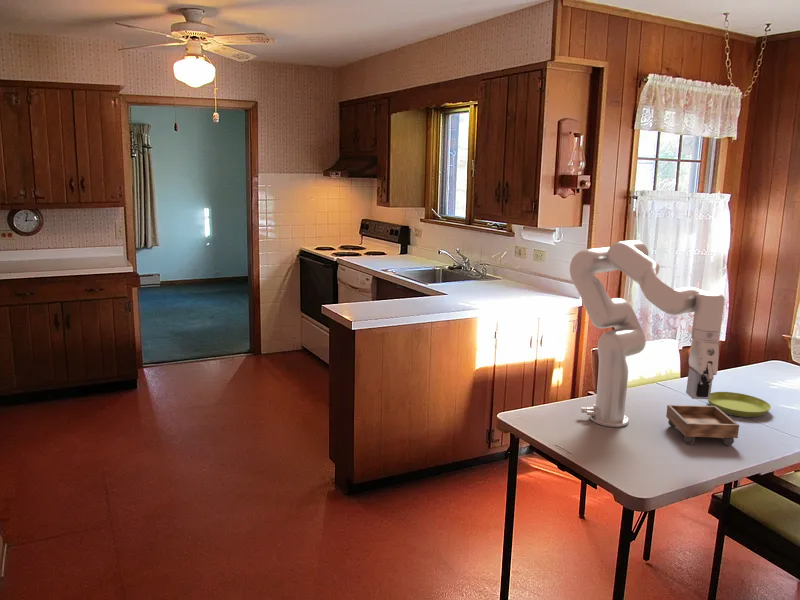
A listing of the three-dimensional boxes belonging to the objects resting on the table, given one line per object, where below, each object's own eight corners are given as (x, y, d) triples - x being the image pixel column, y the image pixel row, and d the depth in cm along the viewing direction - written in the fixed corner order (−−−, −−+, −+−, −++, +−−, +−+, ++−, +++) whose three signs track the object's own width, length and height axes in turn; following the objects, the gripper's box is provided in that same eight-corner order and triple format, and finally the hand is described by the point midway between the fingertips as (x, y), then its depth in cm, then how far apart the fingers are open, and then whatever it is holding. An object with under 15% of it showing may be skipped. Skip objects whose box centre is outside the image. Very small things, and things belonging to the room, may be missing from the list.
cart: (684, 445, 201) (687, 423, 200) (665, 424, 217) (667, 404, 215) (736, 446, 201) (739, 425, 199) (713, 426, 217) (715, 406, 215)
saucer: (778, 423, 221) (779, 414, 220) (713, 417, 225) (714, 408, 224) (758, 401, 241) (759, 393, 240) (699, 397, 245) (700, 389, 244)
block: (692, 398, 191) (695, 373, 189) (686, 392, 195) (689, 367, 194) (709, 399, 190) (713, 373, 189) (702, 393, 195) (706, 368, 193)
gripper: (731, 343, 180) (723, 404, 184) (706, 327, 197) (699, 383, 201) (704, 342, 181) (696, 403, 185) (681, 326, 197) (674, 383, 201)
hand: (698, 392), depth 193 cm, fingers closed on block, 5 cm apart
